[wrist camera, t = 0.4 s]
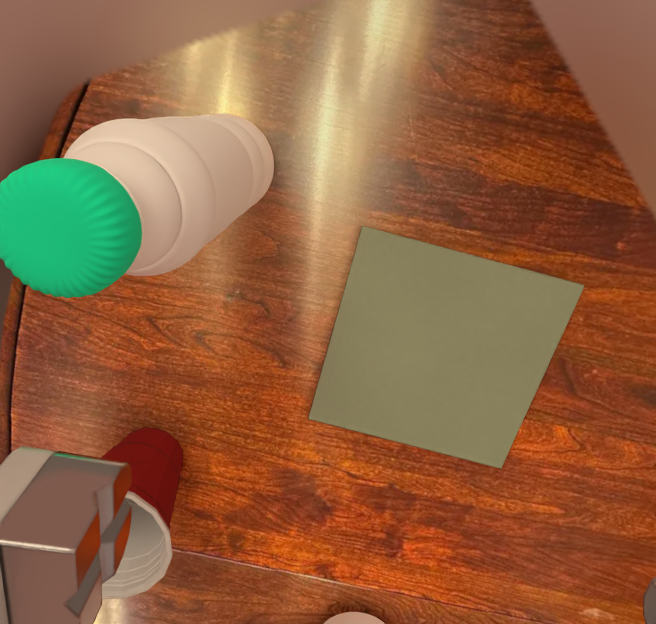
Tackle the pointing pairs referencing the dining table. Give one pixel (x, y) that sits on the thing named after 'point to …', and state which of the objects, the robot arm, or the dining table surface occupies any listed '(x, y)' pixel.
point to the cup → (353, 619)
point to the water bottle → (130, 200)
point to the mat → (439, 347)
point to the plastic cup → (146, 509)
